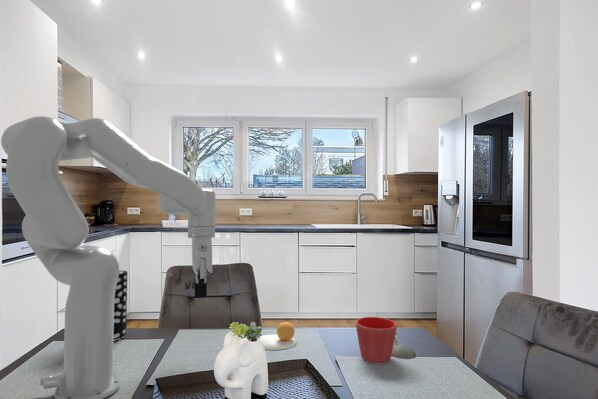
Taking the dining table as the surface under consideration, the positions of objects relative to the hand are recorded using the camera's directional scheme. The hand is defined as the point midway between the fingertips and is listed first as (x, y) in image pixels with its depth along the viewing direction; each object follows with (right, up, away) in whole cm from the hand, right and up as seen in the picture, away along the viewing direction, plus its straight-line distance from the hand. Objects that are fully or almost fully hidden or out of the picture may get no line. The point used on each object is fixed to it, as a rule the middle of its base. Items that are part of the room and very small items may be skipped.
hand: (200, 296), depth 108 cm
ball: (+24, -13, +9) cm, 28 cm away
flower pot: (+49, -16, -5) cm, 52 cm away
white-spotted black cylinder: (-30, -15, +9) cm, 35 cm away
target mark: (+21, -16, +7) cm, 27 cm away
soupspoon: (+58, -17, +6) cm, 60 cm away
